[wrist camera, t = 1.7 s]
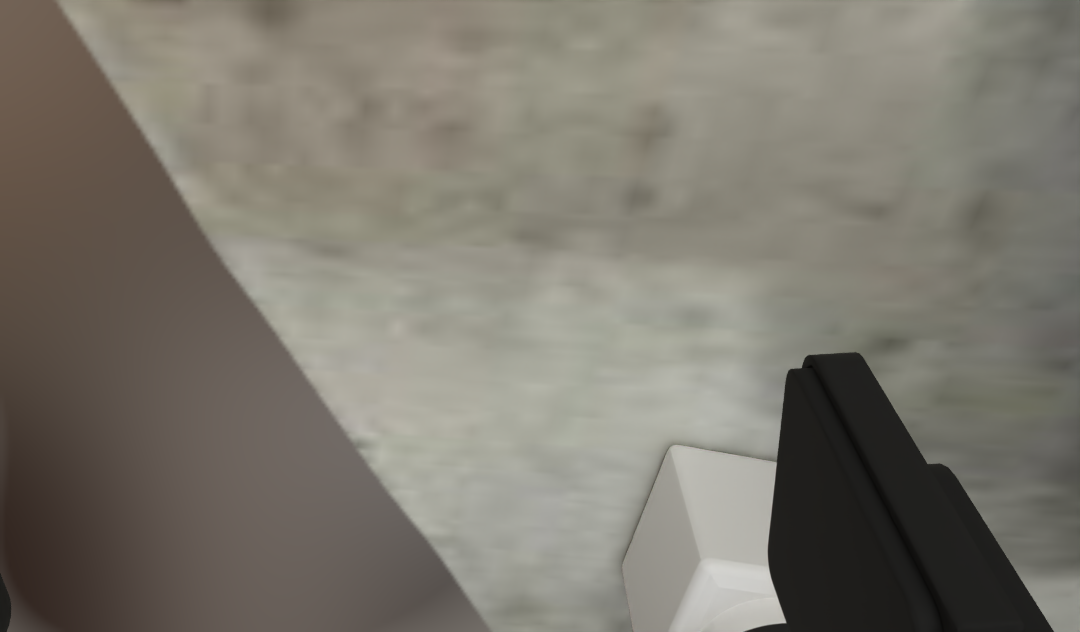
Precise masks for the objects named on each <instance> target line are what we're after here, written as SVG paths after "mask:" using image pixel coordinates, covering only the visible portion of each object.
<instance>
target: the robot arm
mask: <svg viewBox="0 0 1080 632" xmlns="http://www.w3.org/2000/svg"><path fill="white" fill-rule="evenodd" d="M768 565H769V571H770V576H771V579H772V583H773V586H774V589H775V591H776V594H777V597H778V600H779V603H780V606H781V609H782V612H783V615H784V618H785V620H786V623H787V626H788V629H789V632H1054V631H1053V630H1052V628H1051V626H1050V625H1049V623H1048V622H1047V620H1046V619H1045V617H1044V615H1043V614H1042V612H1041V611H1040V609H1039V607H1038V606H1037V604H1036V603H1035V601H1034V600H1033V598H1032V596H1031V595H1030V593H1029V592H1028V590H1027V588H1026V587H1025V585H1024V584H1023V582H1022V581H1021V579H1020V577H1019V576H1018V574H1017V573H1016V571H1015V569H1014V568H1013V566H1012V565H1011V563H1010V562H1009V560H1008V558H1007V557H1006V555H1005V554H1004V552H1003V550H1002V549H1001V547H1000V546H999V544H998V542H997V541H996V539H995V538H994V536H993V535H992V533H991V531H990V530H989V528H988V527H987V525H986V523H985V522H984V520H983V519H982V517H981V516H980V514H979V512H978V511H977V509H976V508H975V506H974V504H973V503H972V501H971V500H970V498H969V497H968V495H967V493H966V492H965V490H964V489H963V487H962V485H961V484H960V482H959V481H958V479H957V478H956V476H955V475H954V474H953V473H952V471H951V470H950V469H949V468H948V467H946V466H944V465H942V464H927V462H926V461H925V459H924V458H923V456H922V454H921V453H920V451H919V449H918V448H917V446H916V444H915V443H914V441H913V439H912V438H911V436H910V434H909V433H908V431H907V429H906V428H905V426H904V424H903V423H902V421H901V419H900V418H899V416H898V414H897V413H896V411H895V410H894V408H893V406H892V405H891V403H890V401H889V400H888V398H887V396H886V395H885V393H884V391H883V390H882V388H881V386H880V385H879V383H878V381H877V380H876V378H875V376H874V375H873V373H872V371H871V370H870V368H869V366H868V365H867V363H866V362H865V360H864V358H863V357H862V356H861V355H860V354H859V353H856V352H854V353H837V354H819V355H808V356H807V357H806V358H805V360H804V362H803V365H802V368H800V369H790V370H789V371H788V374H787V377H786V384H785V393H784V402H783V411H782V421H781V430H780V439H779V448H778V457H777V466H776V475H775V485H774V494H773V503H772V512H771V521H770V530H769V540H768ZM10 618H11V602H10V597H9V594H8V592H7V589H6V587H5V584H4V582H3V579H2V577H1V574H0V632H7V629H8V626H9V622H10Z"/></svg>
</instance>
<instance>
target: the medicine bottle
mask: <svg viewBox="0 0 1080 632" xmlns="http://www.w3.org/2000/svg"><path fill="white" fill-rule="evenodd" d="M776 466H777V462H774V461H768V460H762V459H757V458H751V457H745V456H740V455H734V454H728V453H722V452H717V451H711V450H705V449H700V448H694V447H688V446H682V445H673V446H671V447H670V448H669V449H668V451H667V453H666V456H665V458H664V461H663V463H662V466H661V468H660V471H659V473H658V476H657V478H656V481H655V483H654V486H653V488H652V491H651V493H650V496H649V498H648V501H647V503H646V506H645V509H644V511H643V514H642V516H641V519H640V521H639V524H638V526H637V529H636V531H635V534H634V536H633V539H632V541H631V544H630V546H629V549H628V551H627V554H626V556H625V559H624V561H623V564H622V573H623V578H624V584H625V589H626V595H627V600H628V606H629V611H630V617H631V622H632V628H633V632H789V629H788V626H787V623H786V620H785V618H784V615H783V612H782V609H781V606H780V603H779V600H778V597H777V594H776V591H775V589H774V586H773V583H772V579H771V576H770V571H769V565H768V540H769V530H770V521H771V512H772V503H773V494H774V485H775V475H776Z"/></svg>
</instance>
